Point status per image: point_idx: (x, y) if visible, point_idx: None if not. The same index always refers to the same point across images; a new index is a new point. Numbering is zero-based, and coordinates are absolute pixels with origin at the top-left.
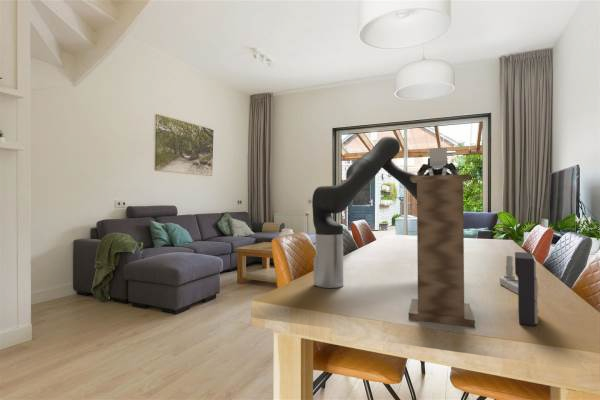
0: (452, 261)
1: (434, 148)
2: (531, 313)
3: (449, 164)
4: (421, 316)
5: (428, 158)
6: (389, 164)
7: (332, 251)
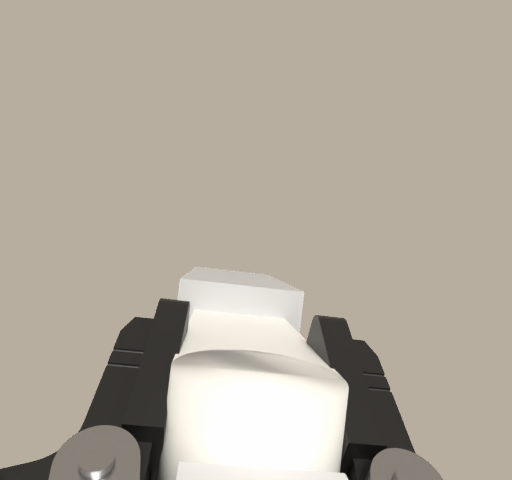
0: None
1: (247, 272)
2: None
3: (16, 478)
4: None
5: (364, 347)
6: None
7: None
